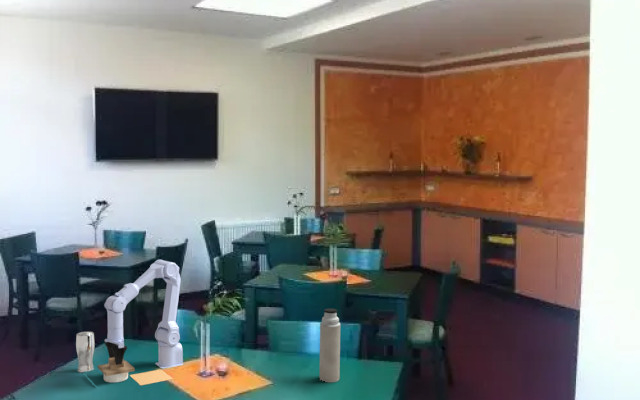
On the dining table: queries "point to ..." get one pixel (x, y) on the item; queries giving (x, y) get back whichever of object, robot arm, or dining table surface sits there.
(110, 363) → the lid
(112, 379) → the bowl
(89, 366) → the beer glass
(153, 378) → the mat
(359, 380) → the dining table surface
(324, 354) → the thermos bottle
